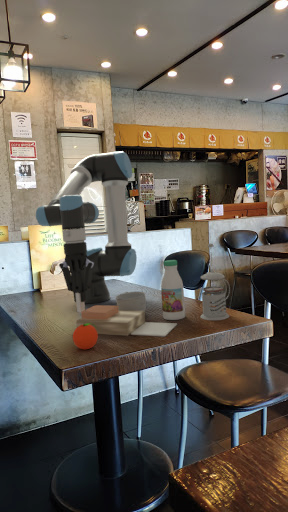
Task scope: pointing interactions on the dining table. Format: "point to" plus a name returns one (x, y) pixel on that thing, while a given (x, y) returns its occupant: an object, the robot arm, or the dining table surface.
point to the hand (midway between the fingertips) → (81, 311)
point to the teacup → (131, 301)
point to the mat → (154, 329)
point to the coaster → (99, 312)
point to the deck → (117, 323)
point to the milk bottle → (172, 292)
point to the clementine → (85, 336)
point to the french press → (214, 297)
